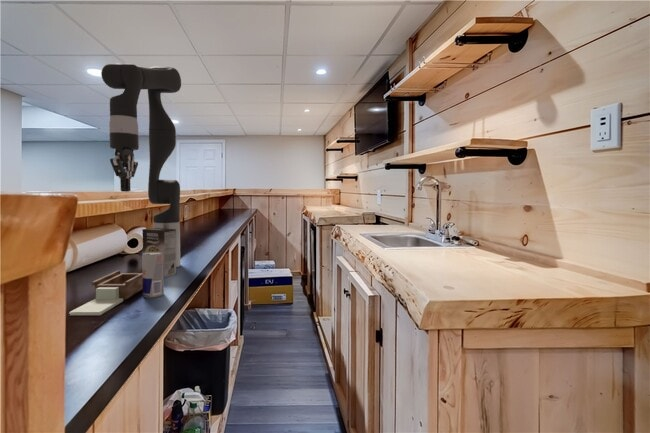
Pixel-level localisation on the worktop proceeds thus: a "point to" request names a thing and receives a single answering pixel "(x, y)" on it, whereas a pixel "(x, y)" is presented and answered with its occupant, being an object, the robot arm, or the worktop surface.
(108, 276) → the walnut box
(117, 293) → the lid
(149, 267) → the energy drink
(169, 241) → the coffee box
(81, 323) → the worktop surface
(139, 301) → the worktop surface
